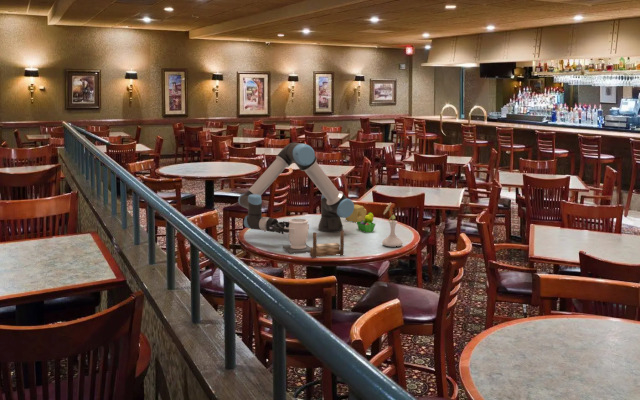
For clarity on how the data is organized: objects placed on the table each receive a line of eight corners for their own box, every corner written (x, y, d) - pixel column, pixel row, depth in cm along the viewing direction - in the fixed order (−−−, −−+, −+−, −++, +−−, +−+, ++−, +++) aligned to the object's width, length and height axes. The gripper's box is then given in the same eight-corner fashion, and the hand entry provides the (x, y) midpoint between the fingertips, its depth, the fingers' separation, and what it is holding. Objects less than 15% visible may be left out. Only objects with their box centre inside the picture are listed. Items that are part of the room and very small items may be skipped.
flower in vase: (389, 242, 366) (390, 199, 361) (406, 245, 358) (407, 201, 354) (376, 246, 356) (377, 202, 351) (393, 249, 348) (394, 204, 344)
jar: (310, 246, 350) (310, 219, 347) (304, 250, 340) (304, 223, 338) (292, 244, 353) (292, 217, 351) (285, 248, 344) (285, 221, 341)
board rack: (339, 252, 342) (339, 228, 340) (344, 255, 336) (344, 231, 334) (309, 254, 337) (309, 230, 335) (313, 257, 330) (313, 233, 328)
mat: (305, 246, 355) (305, 243, 355) (313, 252, 342) (313, 249, 342) (283, 247, 351) (283, 245, 351) (290, 253, 338) (290, 251, 338)
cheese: (367, 221, 425) (367, 206, 423) (356, 223, 417) (356, 208, 415) (355, 218, 432) (355, 204, 430) (344, 221, 424) (344, 206, 422)
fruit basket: (355, 229, 398) (356, 211, 396) (367, 228, 402) (368, 210, 400) (365, 233, 388) (365, 215, 386) (377, 232, 392) (378, 213, 390)
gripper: (282, 227, 366) (313, 231, 355) (255, 235, 344) (288, 240, 334) (281, 214, 364) (313, 218, 354) (255, 221, 343) (288, 226, 333)
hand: (301, 229), depth 344 cm, fingers open, 13 cm apart
